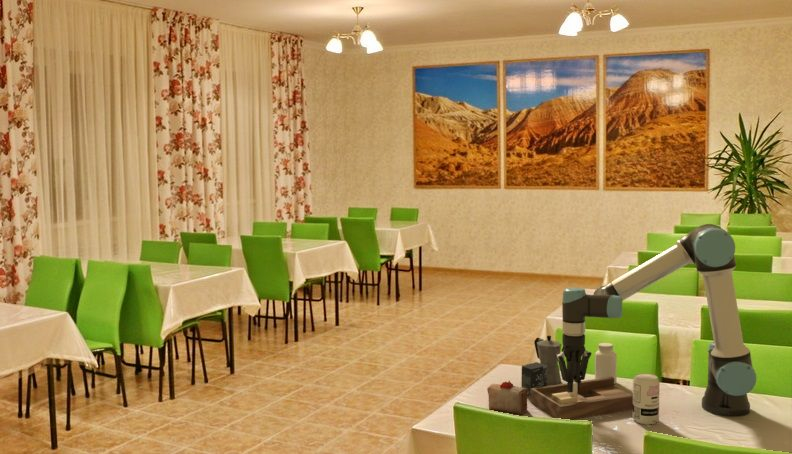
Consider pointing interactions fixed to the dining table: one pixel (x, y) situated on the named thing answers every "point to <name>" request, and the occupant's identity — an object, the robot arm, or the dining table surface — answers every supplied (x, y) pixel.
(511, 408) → the food item
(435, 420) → the dining table surface
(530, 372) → the box
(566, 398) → the block
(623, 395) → the divided wooden tray
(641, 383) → the supplement can
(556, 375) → the coffeepot
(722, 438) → the dining table surface
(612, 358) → the pill bottle
